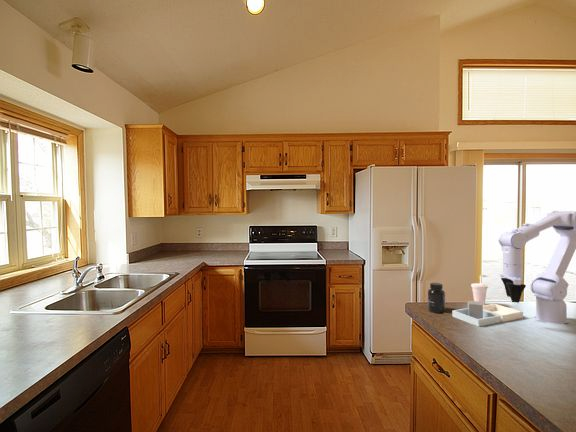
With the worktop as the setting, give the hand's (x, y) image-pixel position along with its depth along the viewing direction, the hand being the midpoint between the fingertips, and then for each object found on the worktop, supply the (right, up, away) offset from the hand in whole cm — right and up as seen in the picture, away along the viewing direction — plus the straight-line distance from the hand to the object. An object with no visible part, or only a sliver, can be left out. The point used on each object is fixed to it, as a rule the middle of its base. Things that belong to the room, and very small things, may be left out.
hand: (512, 299), depth 111 cm
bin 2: (0, -9, +8) cm, 12 cm away
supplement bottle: (-21, -10, +16) cm, 28 cm away
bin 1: (-12, -10, +4) cm, 16 cm away
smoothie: (+1, -9, +22) cm, 24 cm away
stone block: (-12, -9, +4) cm, 15 cm away
